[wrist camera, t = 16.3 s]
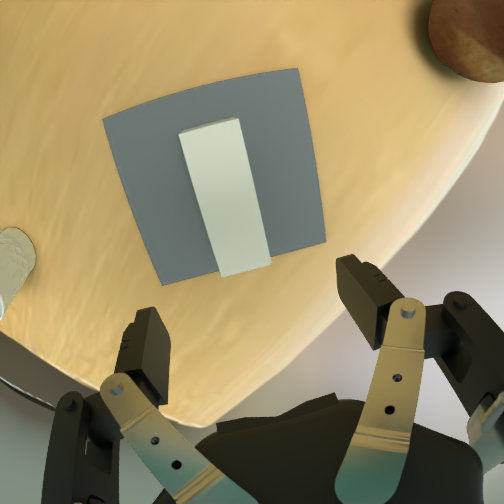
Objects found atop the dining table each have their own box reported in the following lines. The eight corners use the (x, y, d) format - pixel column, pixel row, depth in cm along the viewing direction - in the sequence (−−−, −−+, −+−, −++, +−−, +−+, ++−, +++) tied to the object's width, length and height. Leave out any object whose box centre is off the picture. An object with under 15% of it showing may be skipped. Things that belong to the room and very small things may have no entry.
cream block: (262, 242, 33) (233, 117, 27) (271, 264, 29) (238, 118, 22) (219, 253, 33) (182, 130, 27) (221, 277, 29) (178, 134, 22)
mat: (162, 283, 34) (162, 285, 34) (103, 118, 25) (102, 119, 25) (325, 240, 35) (326, 242, 35) (296, 68, 26) (297, 67, 25)
